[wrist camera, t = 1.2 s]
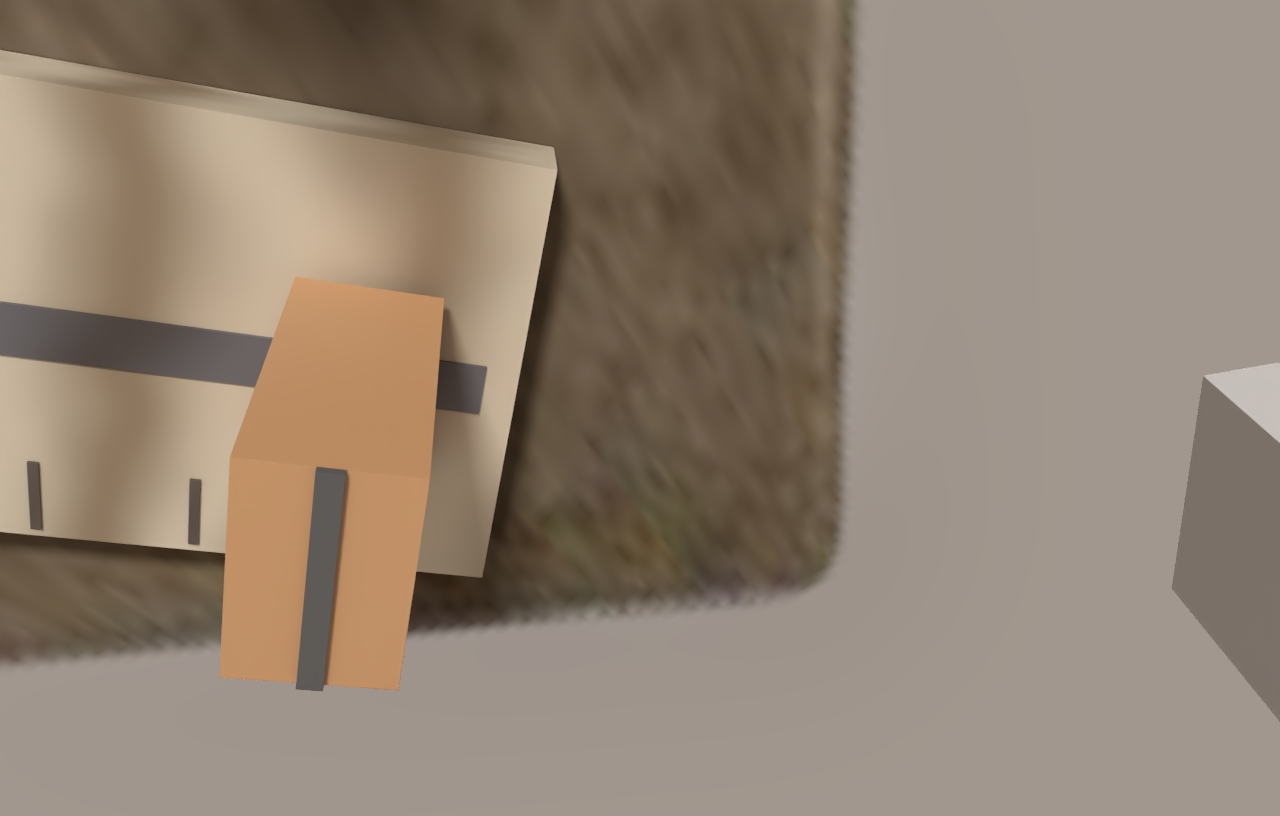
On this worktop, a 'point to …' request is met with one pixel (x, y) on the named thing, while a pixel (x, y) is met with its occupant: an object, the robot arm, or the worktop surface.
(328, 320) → the block
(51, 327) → the fader board
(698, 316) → the worktop surface
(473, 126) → the worktop surface
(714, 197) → the worktop surface
